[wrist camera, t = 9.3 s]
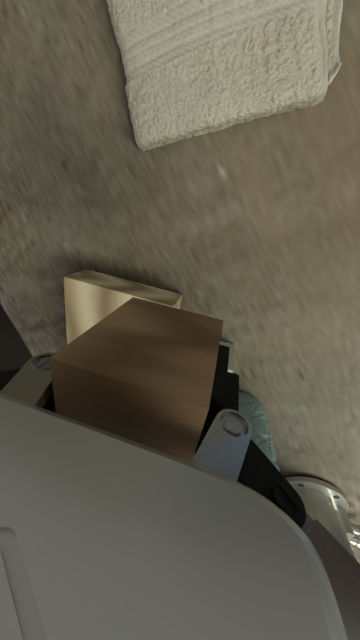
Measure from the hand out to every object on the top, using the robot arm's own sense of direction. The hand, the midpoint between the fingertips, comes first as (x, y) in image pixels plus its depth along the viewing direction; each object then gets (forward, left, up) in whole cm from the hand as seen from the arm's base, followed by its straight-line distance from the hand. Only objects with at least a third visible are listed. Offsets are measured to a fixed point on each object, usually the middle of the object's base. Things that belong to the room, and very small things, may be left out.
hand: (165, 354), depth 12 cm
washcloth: (+3, -20, -18) cm, 27 cm away
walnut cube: (0, 0, -1) cm, 1 cm away
